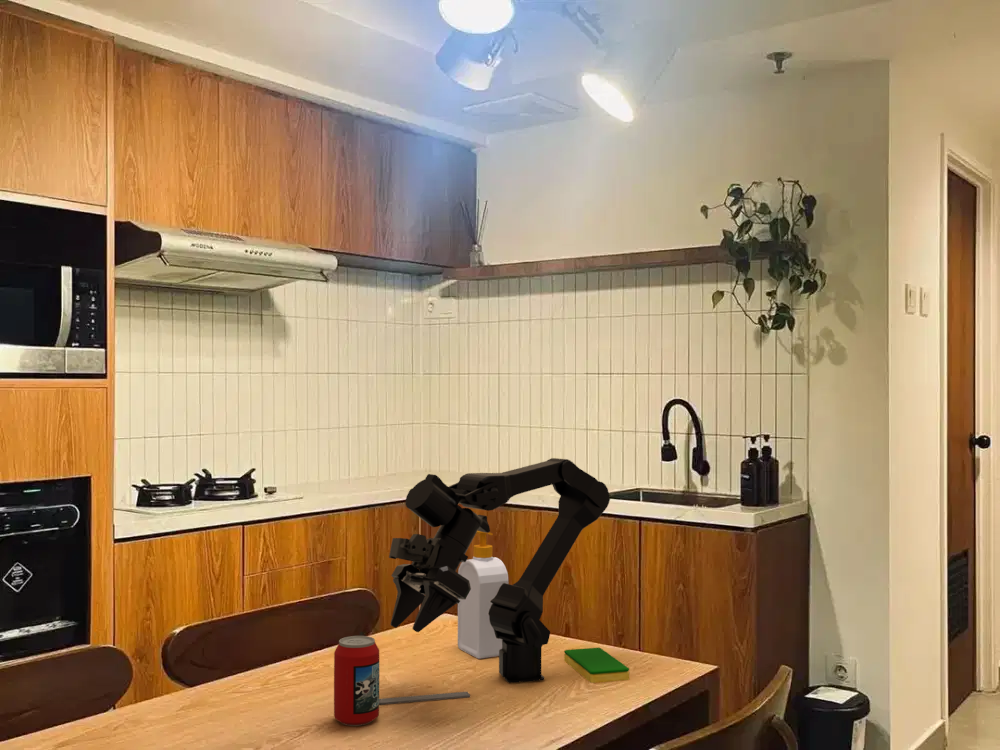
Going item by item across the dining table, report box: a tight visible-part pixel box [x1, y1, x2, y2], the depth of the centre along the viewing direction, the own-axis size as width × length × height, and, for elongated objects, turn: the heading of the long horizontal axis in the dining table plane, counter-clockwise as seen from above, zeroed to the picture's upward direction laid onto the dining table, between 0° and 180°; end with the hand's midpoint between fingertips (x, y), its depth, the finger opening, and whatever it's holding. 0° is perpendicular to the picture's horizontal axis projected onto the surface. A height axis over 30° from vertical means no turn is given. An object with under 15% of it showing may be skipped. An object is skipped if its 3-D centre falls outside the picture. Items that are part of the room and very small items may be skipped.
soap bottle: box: [457, 531, 510, 660], centre depth 182 cm, size 9×7×23 cm
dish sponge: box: [563, 647, 630, 684], centre depth 171 cm, size 7×14×2 cm, turn 16°
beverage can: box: [333, 635, 380, 727], centre depth 145 cm, size 7×7×12 cm
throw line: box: [379, 691, 471, 706], centre depth 154 cm, size 19×2×1 cm, turn 105°
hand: (403, 628), depth 151 cm, fingers open, 9 cm apart
